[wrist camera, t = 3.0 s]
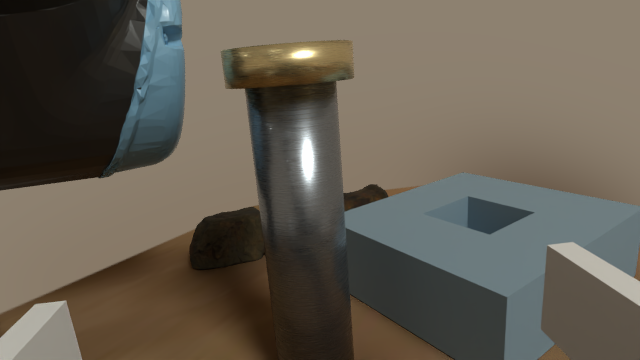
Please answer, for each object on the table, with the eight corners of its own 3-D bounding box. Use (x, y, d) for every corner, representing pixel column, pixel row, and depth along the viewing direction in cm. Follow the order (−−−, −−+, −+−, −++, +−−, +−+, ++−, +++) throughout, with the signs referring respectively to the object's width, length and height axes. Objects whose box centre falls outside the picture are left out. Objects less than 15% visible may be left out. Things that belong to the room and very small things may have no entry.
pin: (247, 364, 23) (201, 54, 18) (327, 323, 26) (305, 48, 21) (302, 431, 18) (258, 43, 14) (392, 372, 21) (380, 38, 17)
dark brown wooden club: (371, 215, 44) (369, 173, 43) (393, 227, 41) (391, 181, 39) (189, 262, 37) (180, 213, 35) (196, 281, 33) (187, 227, 32)
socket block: (329, 280, 31) (324, 218, 30) (462, 222, 40) (463, 172, 38) (502, 389, 20) (507, 297, 18) (635, 275, 29) (644, 207, 27)
